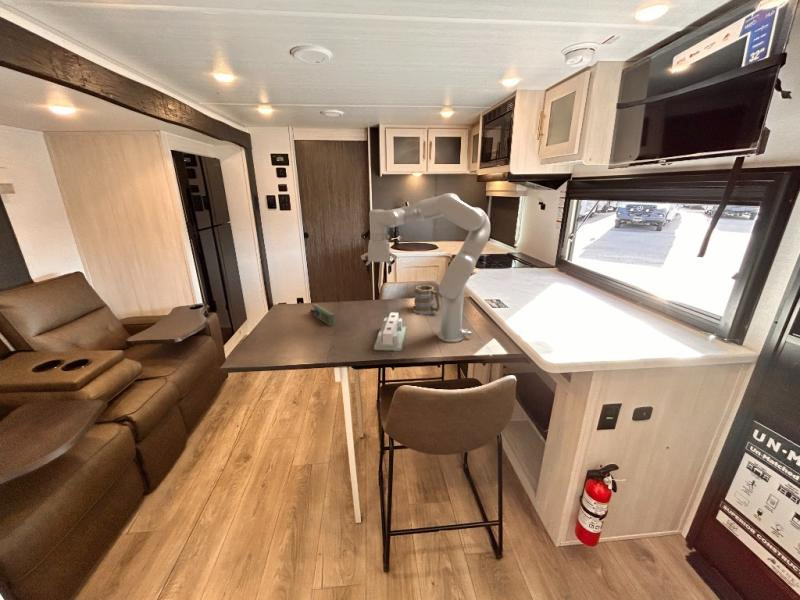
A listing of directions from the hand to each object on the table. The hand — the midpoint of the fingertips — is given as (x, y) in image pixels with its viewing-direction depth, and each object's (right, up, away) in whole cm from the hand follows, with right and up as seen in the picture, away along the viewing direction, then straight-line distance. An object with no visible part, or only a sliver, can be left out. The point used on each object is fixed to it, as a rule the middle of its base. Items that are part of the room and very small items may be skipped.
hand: (379, 273), depth 149 cm
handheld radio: (-33, -24, +20) cm, 45 cm away
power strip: (+6, -28, -4) cm, 29 cm away
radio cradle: (+6, -31, -3) cm, 32 cm away
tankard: (+26, -20, +28) cm, 43 cm away
